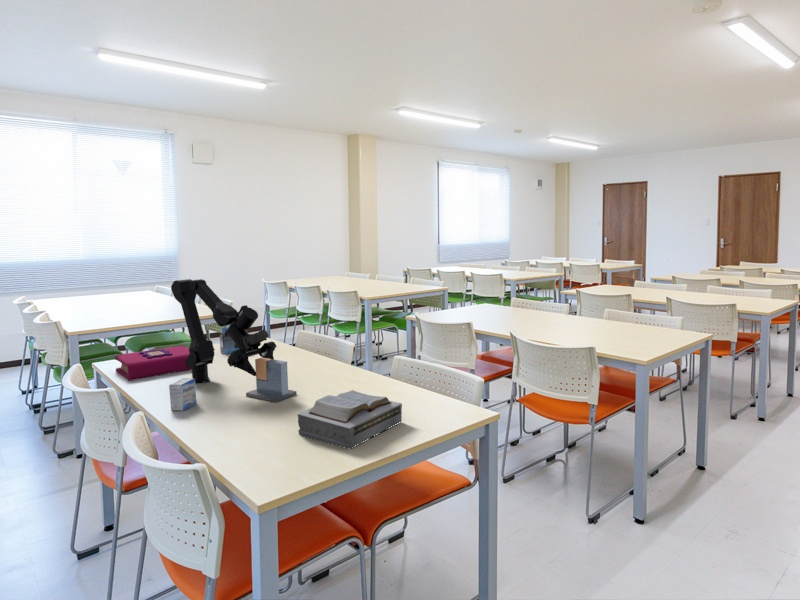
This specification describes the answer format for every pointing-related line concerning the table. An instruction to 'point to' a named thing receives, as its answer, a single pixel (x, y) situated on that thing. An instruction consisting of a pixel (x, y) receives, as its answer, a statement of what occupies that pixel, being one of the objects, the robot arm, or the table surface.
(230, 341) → the label tape cartridge
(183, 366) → the book
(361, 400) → the bible
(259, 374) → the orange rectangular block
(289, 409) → the table surface
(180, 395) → the medicine box
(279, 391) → the stand
